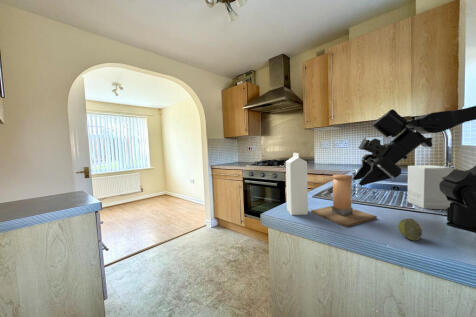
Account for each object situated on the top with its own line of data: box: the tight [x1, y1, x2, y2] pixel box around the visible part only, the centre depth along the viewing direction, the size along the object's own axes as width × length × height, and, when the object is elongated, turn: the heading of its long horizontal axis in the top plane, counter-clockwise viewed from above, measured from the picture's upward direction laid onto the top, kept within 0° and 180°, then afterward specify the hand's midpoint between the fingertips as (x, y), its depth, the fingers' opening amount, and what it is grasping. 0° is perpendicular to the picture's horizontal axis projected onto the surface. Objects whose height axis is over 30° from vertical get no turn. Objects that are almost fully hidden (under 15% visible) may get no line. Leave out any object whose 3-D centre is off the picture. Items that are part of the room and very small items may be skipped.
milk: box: [285, 152, 309, 216], centre depth 69 cm, size 6×6×22 cm
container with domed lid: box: [332, 174, 353, 210], centre depth 64 cm, size 6×6×11 cm
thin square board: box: [310, 205, 378, 228], centre depth 65 cm, size 14×14×3 cm
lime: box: [398, 218, 423, 241], centre depth 48 cm, size 4×5×5 cm
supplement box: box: [406, 164, 454, 210], centre depth 71 cm, size 9×9×15 cm
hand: (356, 181), depth 62 cm, fingers open, 9 cm apart
